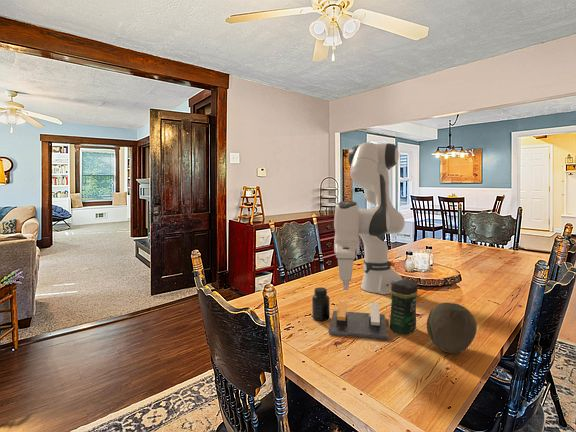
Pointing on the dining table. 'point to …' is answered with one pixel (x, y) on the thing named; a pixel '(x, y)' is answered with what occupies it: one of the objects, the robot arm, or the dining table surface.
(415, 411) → the dining table surface
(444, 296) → the dining table surface
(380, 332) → the panel
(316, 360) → the dining table surface
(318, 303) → the supplement bottle
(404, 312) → the coffee jar
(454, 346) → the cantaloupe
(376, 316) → the paddle
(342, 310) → the paddle
